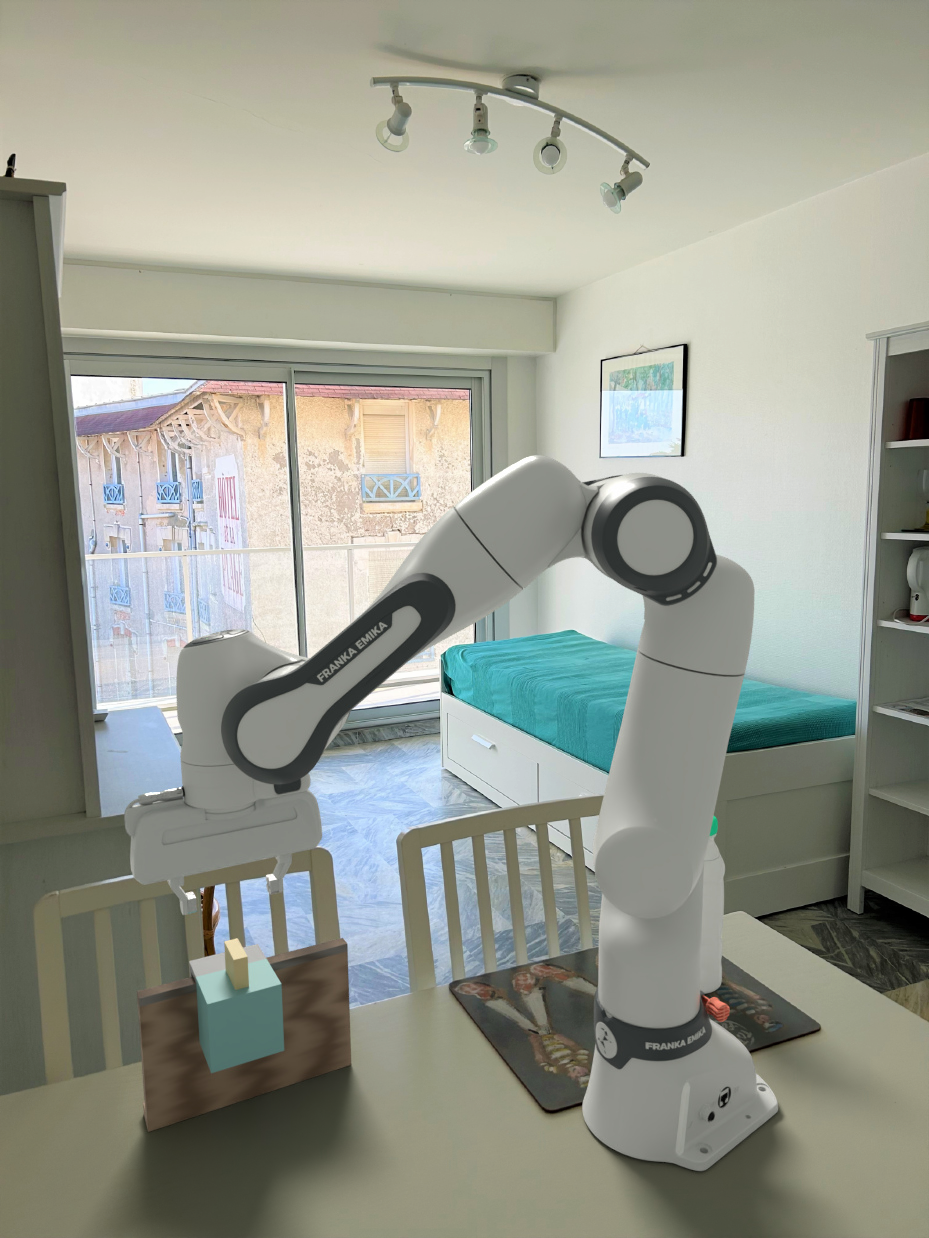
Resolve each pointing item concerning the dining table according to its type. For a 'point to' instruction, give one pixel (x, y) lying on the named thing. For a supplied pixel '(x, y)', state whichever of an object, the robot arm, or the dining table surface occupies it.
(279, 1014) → the key box
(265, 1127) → the dining table surface
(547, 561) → the robot arm
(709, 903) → the water bottle
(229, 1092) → the wall board
